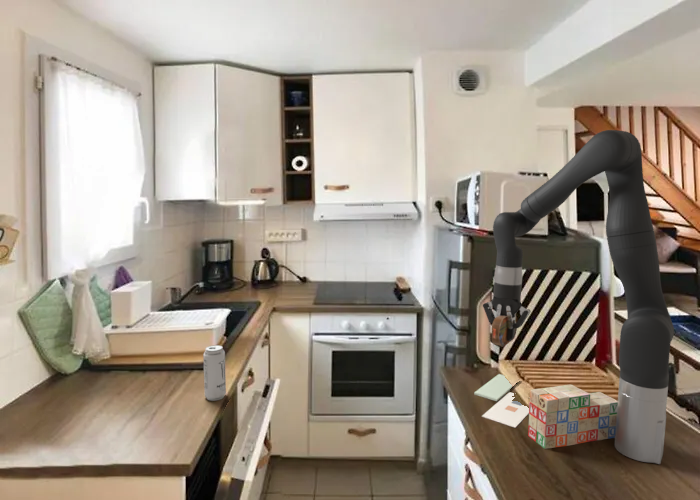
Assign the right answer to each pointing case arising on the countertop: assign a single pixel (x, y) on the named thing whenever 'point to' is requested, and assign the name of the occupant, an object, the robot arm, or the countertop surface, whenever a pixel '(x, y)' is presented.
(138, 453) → the countertop surface
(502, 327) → the tin
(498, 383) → the pad
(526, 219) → the robot arm
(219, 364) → the energy drink can
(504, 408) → the tile
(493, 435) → the countertop surface
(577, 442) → the stack of blocks
